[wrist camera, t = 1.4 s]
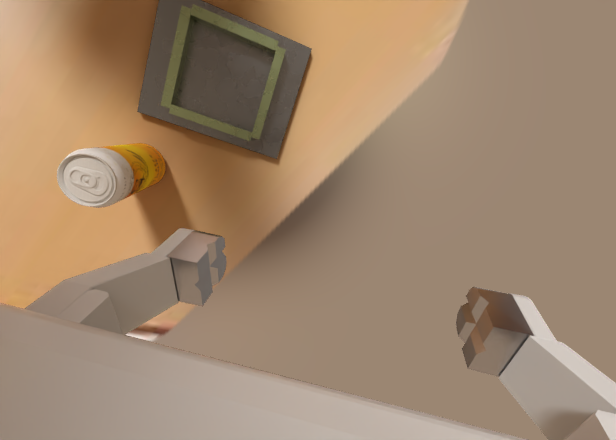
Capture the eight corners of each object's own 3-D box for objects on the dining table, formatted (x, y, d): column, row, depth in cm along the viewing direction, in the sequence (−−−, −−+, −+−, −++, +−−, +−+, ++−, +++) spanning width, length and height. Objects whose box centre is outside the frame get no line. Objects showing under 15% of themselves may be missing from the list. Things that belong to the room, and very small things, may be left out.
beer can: (160, 190, 45) (111, 218, 30) (118, 175, 43) (46, 197, 29) (172, 153, 43) (127, 164, 29) (129, 136, 42) (59, 139, 28)
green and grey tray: (140, 111, 41) (131, 110, 38) (164, -13, 38) (156, -25, 35) (276, 158, 46) (277, 160, 43) (310, 50, 42) (313, 44, 39)
